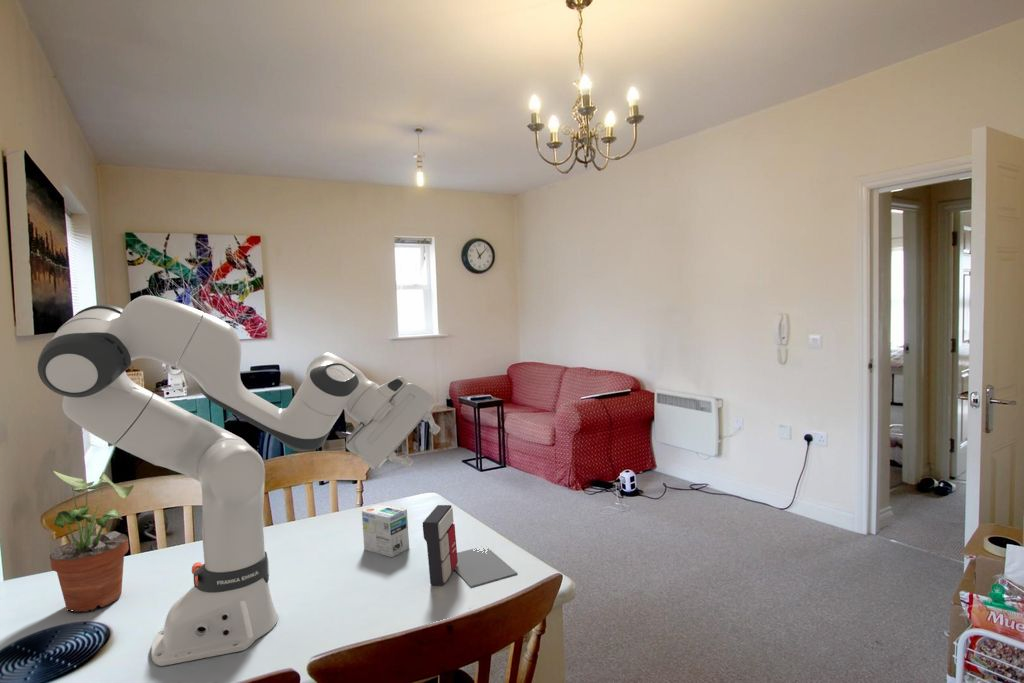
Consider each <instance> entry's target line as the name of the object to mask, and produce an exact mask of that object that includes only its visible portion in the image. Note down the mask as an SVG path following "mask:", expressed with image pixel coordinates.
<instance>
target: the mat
mask: <svg viewBox="0 0 1024 683" xmlns="http://www.w3.org/2000/svg"><path fill="white" fill-rule="evenodd" d="M476 548H477V547H475V549H476ZM473 549H474V548H471V549H466V550H462V551H459V552H458V551H457V559H458V563H457V564H456V566H455V568H454V569H453V571H454V572H456V573H457V575H458V576H460V577H461V579H462V580H463V581H464V582H465V583H466V584H467V585H468V587H470V588H474V587H477V586H480V585H484V584H488V583H492V582H496V581H498V579H499V580H501V579H502V580H503V579H506V578H508V576H509V577H513V576H516V575H518V572H517V571H516V570H515V569H514V568H512V567H511V566H510V565H509V564H507V563H506V562H505V561H504V560H503V559H502V558H501V557H499V556H498V555H497V554H496V553H495V552H493V550H491V549H490V548H489V547H488V549H487V550H488V551H487V552H486V553H487V554H486V553H485V551H486V550H485V549H484V548H483V549H484V550H483V551H484V552H483V551H479V550H480V549H479V550H477V549H476V550H475V549H474V550H475V551H473ZM489 549H490V550H489ZM477 551H479V552H477ZM482 552H483V553H482ZM505 577H506V578H505Z"/></svg>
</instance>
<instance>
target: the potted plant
mask: <svg viewBox="0 0 1024 683" xmlns="http://www.w3.org/2000/svg"><path fill="white" fill-rule="evenodd" d="M49 470H50V471H51V472H52V473H54V475H56V477H58V478H60V480H62V481H63V482H65V483H66V484H68V485H71V488H72V489H71V490H72V495H73V500H74V502H73V503H74V509H70V510H68V511H66V510H65V511H63V510H62V511H59V512H57V516H56V518H55V520H54V523H53V525H54V526H57V527H60V528H61V529H63V528H65V526H66V525H67V528H68V530H69V533H70V535H71V539H72V541H70V542H67V543H65V544H63V545H61V546H59V547H55V548H54V549H53V550H52V551H51V553H50V554H49V560H50V566H51V570H52V571H53V572H56V573H57V577H58V581H59V585H60V589H61V592H62V593H61V594H62V596H63V600H64V603H65V608H66V610H67V609H68V610H73V611H84V612H88V611H87V610H91V611H94V610H95V609H97V608H100V607H101V608H104V607H106V606H108V605H110V604H112V603H113V602H115V601H116V600H118V599H119V598H120V597H121V595H122V591H123V590H122V589H123V577H124V576H123V574H124V560H125V555H126V554H127V553H128V551H129V549H130V547H129V537H128V536H127V534H124V533H121V532H118V531H116V530H115V531H107V532H105V533H104V532H103V533H102V531H103V529H105V528H107V523H108V522H109V520H110V519H111V518H114V519H119V520H123V518H122V517H121V515H120V513H119V512H118V511H117V510H116V509H114V508H112V509H109V510H107V511H106V510H105V511H104V512H105V513H103V514H102V517H97V515H98V514H97V512H98V510H99V503H100V502H101V501H100V499H101V497H102V494H103V491H104V489H105V486H106V485H107V484H109V485H110V486H111V487H112V488H113V489H114V490H115V491H116V492H117V494H118V495H119V497H120V498H122V499H125V498H126V497H129V495H130V494H131V491H132V490H133V489H134V485H130V486H119V485H118V484H115V483H114V482H113V481H111V479H110V478H109V477H108V476H107V474H106V473H104V472H102V473H101V475H100V476H99V478H98V479H99V481H98V482H97V483H96V484H94V483H95V482H94V481H91V482H85V479H83V478H79V477H74V476H70V475H66V474H62V473H60V472H57V471H55V470H53V469H52V468H49ZM103 483H105V484H104V486H103V488H102V491H101V493H100V497H99V500H98V503H97V507H96V510H95V511H94V514H93V516H92V514H89V509H90V506H89V505H88V492H86V491H88V490H91V491H92V490H97V489H99V488H101V487H102V485H103ZM73 487H74V488H73ZM74 492H77V493H83V492H86V494H85V495H86V496H85V497H86V498H85V506H79V507H78V505H77V501H76V497H75V493H74ZM76 522H77V525H78V526H77V527H78V532H79V534H78V535H79V537H78V538H75V537H74V534H73V532H72V529H71V528H70V526H69V525H74V524H76ZM81 522H82V524H84V523H85V524H84V525H85V526H84V525H82V524H81ZM95 522H96V524H97V525H96V527H95V529H94V526H95ZM89 523H90V524H89ZM98 526H99V527H100V528H99V530H98V532H97V534H96V535H94V533H95V531H96V529H97V528H98ZM83 531H84V533H83ZM83 534H84V536H83ZM105 605H106V606H105ZM103 606H104V607H103ZM93 609H94V610H93Z"/></svg>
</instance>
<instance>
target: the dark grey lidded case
mask: <svg viewBox="0 0 1024 683" xmlns="http://www.w3.org/2000/svg"><path fill="white" fill-rule="evenodd" d="M422 531H423V532H422V533H423V539H424V541H425V542H426V549H427V551H426V552H427V560H428V572H429V584H430V585H431V586H444V584H445V583H447V581H448V579H449V578H450V576H451V574H452V572H453V571H454V568H455V566H456V564H457V563H458V559H457V553H458V549H457V538H456V535H457V534H456V526H455V523H454V510H453V507H452V505H451V504H447V505H446V504H438V505H437V506H435V507H434V509H432V511H431V512H430V514H429V515H428V516H427V517H426V518H425V519H424V520H423V522H422Z"/></svg>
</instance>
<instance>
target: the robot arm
mask: <svg viewBox="0 0 1024 683" xmlns="http://www.w3.org/2000/svg"><path fill="white" fill-rule="evenodd" d="M137 359H150V360H153V361H157V362H160V363H163V364H164V365H167V366H170V367H172V368H175V369H177V370H180V371H181V372H184V373H185V374H187V375H189V376H190V377H191V378H192V379H194V381H196V383H197V384H199V390H200V393H201V394H202V395H203V396H204V397H205V398H206V399H208V400H209V401H211V402H212V403H214V404H215V405H217V406H219V407H220V408H222V409H223V410H225V411H227V412H229V413H231V414H232V415H235V416H236V417H238V418H240V419H242V420H243V421H245V422H247V423H249V424H251V425H252V426H255V427H257V428H258V429H259V430H262V431H264V432H266V433H267V434H270V435H271V436H272V437H274V438H276V439H277V441H279V442H281V443H282V444H283V445H285V446H286V447H288V448H289V449H291V450H293V451H295V452H310V451H315V450H317V449H319V448H321V447H322V446H324V444H325V443H326V440H327V438H328V436H329V435H330V433H331V430H332V428H333V426H334V425H335V423H336V422H337V420H338V419H339V418H340V416H341V414H342V413H343V411H345V412H346V413H347V415H348V416H349V417H350V418H352V419H353V420H354V421H356V423H358V425H357V426H356V427H355V428H354V429H353V430H352V432H351V433H349V434H348V435H347V436H346V438H345V439H346V440H345V444H344V445H345V448H346V450H347V451H349V452H350V453H351V454H353V455H356V456H358V457H359V459H361V460H362V462H364V464H366V465H367V466H368V468H370V469H371V470H379V469H380V468H381V467H382V466H383V464H384V463H386V461H387V460H388V461H390V463H393V464H394V463H395V464H402V465H403V466H404V467H406V468H410V466H411V465H412V464H413V462H414V460H413V459H412V458H411V457H410V456H408V455H405V456H404V457H400V456H397V453H396V452H395V451H396V450H397V448H399V446H400V445H401V444H402V443H403V442H404V441H405V440H406V439H407V438H408V437H409V436H410V434H411V433H412V432H413V431H414V429H416V427H417V426H418V425H419V424H420V423H421V421H424V422H425V423H427V422H428V423H429V426H430V428H429V432H430V433H432V434H433V435H434V436H437V434H438V433H439V432H440V431H441V427H440V425H438V424H437V423H436V422H435V419H434V417H433V414H432V413H430V411H431V410H432V409H433V408H434V406H435V403H436V399H435V396H434V395H433V393H431V392H429V391H428V390H427V389H424V388H423V387H421V386H419V384H416V383H412V382H408V383H407V379H406V378H405V377H404V376H401V375H400V376H396V377H395V378H393V379H391V380H389V381H388V382H386V383H383V384H381V385H379V384H378V383H377V382H374V381H372V380H369V378H367V377H366V376H365V374H364V373H363V372H362V371H361V370H360V369H359V368H357V367H356V366H354V364H352V363H350V362H348V361H347V360H345V359H344V358H342V357H340V356H339V355H336V354H335V353H331V352H325V353H322V354H319V355H318V356H316V358H314V359H313V360H312V361H311V362H310V363H309V365H308V366H307V369H306V372H305V378H304V380H303V381H302V382H301V385H300V386H299V387H298V389H297V392H296V393H295V395H294V396H293V398H292V400H290V403H289V404H288V406H287V407H285V408H282V407H279V406H276V405H275V404H273V403H271V402H270V401H268V400H266V399H264V398H262V397H261V396H259V395H257V394H255V393H254V392H252V391H250V390H249V389H248V388H247V387H245V385H244V384H243V381H242V379H241V363H242V362H241V360H242V345H241V341H240V338H239V335H238V333H237V332H236V330H235V329H234V328H233V326H231V325H230V324H229V323H228V322H226V321H224V320H223V319H220V318H218V317H216V316H215V315H212V314H210V313H207V312H205V311H202V310H199V309H197V308H195V307H193V306H190V305H187V304H184V303H181V302H178V301H174V300H170V299H168V298H164V297H159V296H155V295H150V294H145V295H140V296H138V297H136V298H134V299H133V300H132V301H131V300H130V301H129V302H128V303H127V304H126V306H125V307H124V308H122V307H118V306H116V305H112V304H97V305H92V306H88V307H86V308H83V309H81V310H79V311H78V312H77V313H75V315H73V317H71V318H70V319H68V320H67V321H66V322H65V323H63V324H62V325H61V326H60V327H59V328H58V329H57V331H56V332H55V334H54V336H53V337H52V338H51V339H50V341H48V342H47V343H46V344H45V346H44V347H43V348H42V350H41V352H40V354H39V356H38V359H37V360H38V361H37V372H38V376H39V378H40V380H41V381H42V383H43V384H44V386H46V387H47V389H49V390H50V391H51V392H53V393H55V394H58V395H60V396H63V398H62V406H61V407H62V410H63V413H64V414H65V416H66V417H67V418H68V419H70V420H71V421H72V422H74V423H75V424H77V425H78V426H79V427H81V428H83V429H84V430H86V431H87V432H89V433H90V434H91V435H93V436H95V437H97V438H99V439H100V440H102V441H104V442H107V443H108V444H110V445H113V447H115V448H116V447H117V448H118V449H120V450H123V451H124V452H127V453H130V454H131V455H133V456H135V457H138V458H139V459H142V460H143V461H146V462H148V463H150V464H152V465H153V466H157V467H161V468H166V469H168V470H170V471H174V472H175V473H176V472H177V473H179V474H182V475H184V476H187V477H189V478H192V479H194V480H196V481H197V482H198V483H200V487H201V496H202V501H201V502H202V511H201V512H202V521H201V522H202V523H201V524H202V525H201V535H202V536H201V537H202V548H203V550H202V551H203V562H204V563H202V562H200V561H197V562H195V563H193V565H192V566H191V574H192V575H193V587H191V588H190V589H189V590H188V591H187V592H186V593H185V594H183V596H181V597H180V598H179V599H178V600H176V601H175V602H174V603H173V605H172V606H171V607H170V609H169V611H168V613H167V615H166V618H165V620H164V626H163V628H161V630H159V631H158V633H157V634H156V635H155V637H154V638H153V641H152V644H151V651H150V654H151V655H150V656H151V660H152V662H153V663H154V664H155V665H157V666H160V667H164V666H169V665H174V664H179V663H180V664H181V663H184V662H190V661H195V660H201V659H205V658H210V657H212V658H213V657H217V656H221V655H228V654H231V653H237V652H242V651H245V650H247V649H249V647H251V645H253V643H254V642H255V641H257V640H258V639H259V638H260V637H262V636H264V635H266V634H267V633H268V632H270V631H271V630H272V629H273V628H274V627H275V626H276V624H277V622H278V620H279V616H278V613H277V611H276V608H275V605H274V602H273V598H272V595H271V591H270V587H269V586H270V584H269V581H270V564H269V557H268V554H267V552H266V551H265V550H266V549H265V536H264V520H263V519H264V518H263V516H264V514H263V512H264V501H265V480H266V468H265V464H264V463H265V462H264V460H263V458H262V456H261V455H260V454H259V452H258V451H257V450H256V449H255V448H253V447H252V446H251V445H250V444H249V443H248V442H247V441H246V440H245V439H243V438H242V437H240V436H238V435H236V434H234V433H232V432H230V431H229V430H226V429H224V428H223V427H221V426H218V425H217V424H215V423H212V422H210V421H208V420H206V419H204V418H203V417H200V416H199V415H196V414H194V413H192V412H190V411H188V410H186V409H185V408H183V407H181V406H180V405H177V404H175V403H173V402H172V401H170V400H167V399H166V398H164V397H162V396H160V395H158V394H156V393H155V392H153V391H151V390H149V389H148V388H147V389H146V388H144V387H143V386H141V385H139V384H137V383H136V382H134V381H133V380H132V379H131V378H130V377H129V376H128V374H127V372H126V371H127V370H128V369H129V368H130V367H131V365H132V361H134V360H135V361H136V360H137Z"/></svg>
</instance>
